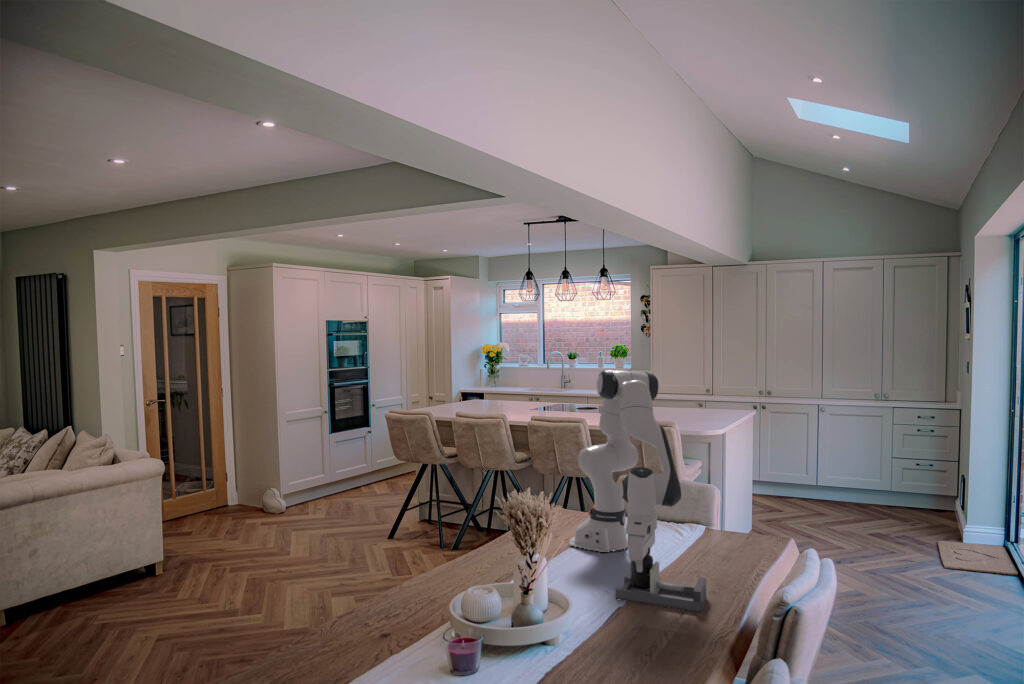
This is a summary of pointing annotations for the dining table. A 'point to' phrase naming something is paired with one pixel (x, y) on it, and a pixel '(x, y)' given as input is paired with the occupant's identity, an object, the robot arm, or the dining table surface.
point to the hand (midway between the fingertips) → (643, 566)
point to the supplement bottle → (642, 573)
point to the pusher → (656, 585)
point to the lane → (666, 595)
